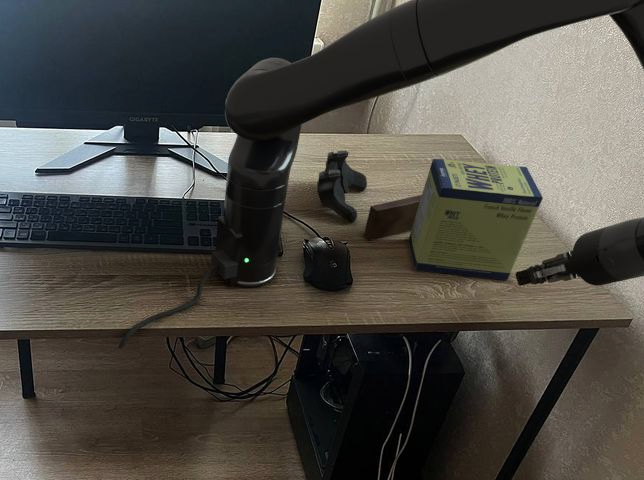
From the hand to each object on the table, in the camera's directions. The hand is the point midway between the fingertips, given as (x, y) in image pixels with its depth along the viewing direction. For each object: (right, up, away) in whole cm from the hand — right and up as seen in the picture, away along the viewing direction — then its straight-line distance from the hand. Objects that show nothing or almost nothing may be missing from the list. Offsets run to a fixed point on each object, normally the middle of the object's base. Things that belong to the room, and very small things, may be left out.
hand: (520, 278), depth 108 cm
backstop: (-10, +11, +19) cm, 25 cm away
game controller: (-22, +17, +26) cm, 38 cm away
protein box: (-5, +4, +12) cm, 14 cm away
